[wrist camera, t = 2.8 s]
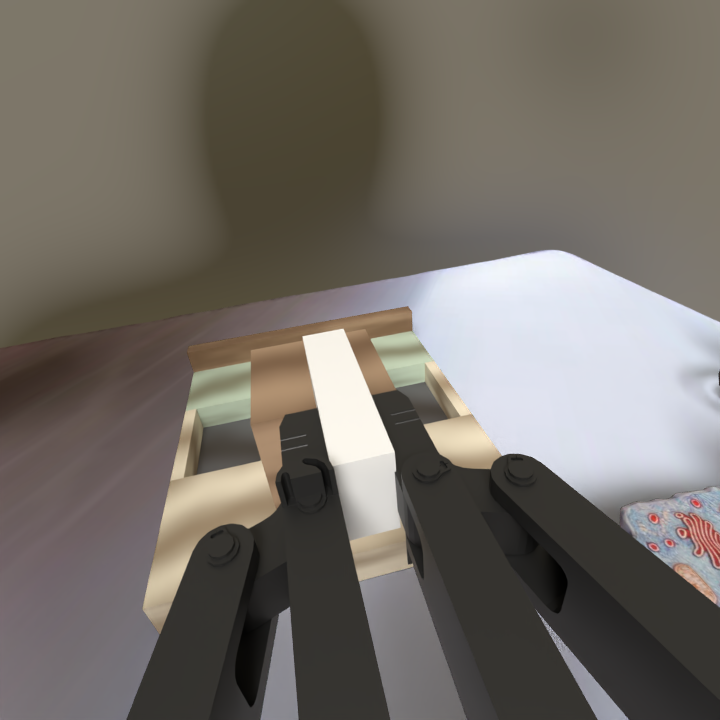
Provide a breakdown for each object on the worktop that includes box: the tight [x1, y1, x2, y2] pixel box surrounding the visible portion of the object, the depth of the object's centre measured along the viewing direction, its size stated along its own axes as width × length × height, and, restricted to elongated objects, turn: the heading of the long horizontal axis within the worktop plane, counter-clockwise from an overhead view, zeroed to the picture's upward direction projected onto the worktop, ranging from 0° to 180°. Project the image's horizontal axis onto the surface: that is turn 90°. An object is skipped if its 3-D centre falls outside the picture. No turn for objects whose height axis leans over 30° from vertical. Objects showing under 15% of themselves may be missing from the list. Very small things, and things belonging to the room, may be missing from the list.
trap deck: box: [142, 306, 501, 634], centre depth 38 cm, size 28×25×6 cm
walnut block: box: [250, 329, 396, 510], centre depth 29 cm, size 8×8×10 cm
